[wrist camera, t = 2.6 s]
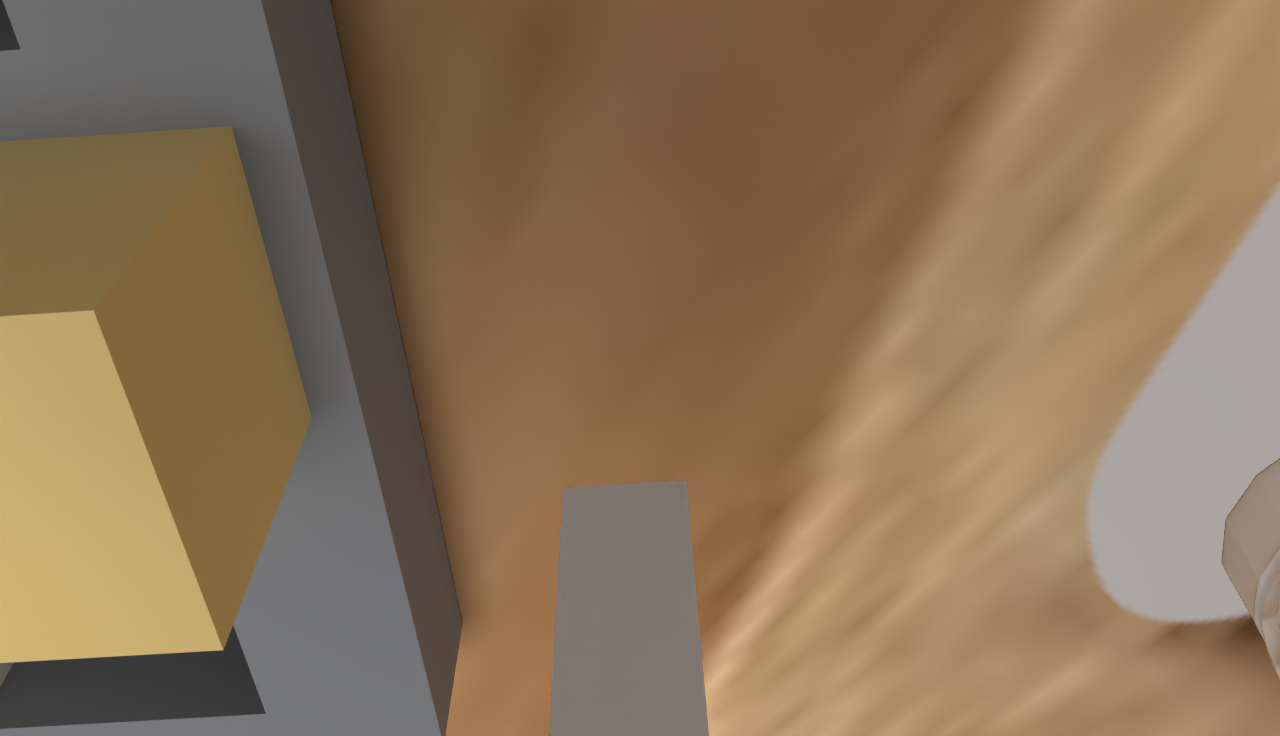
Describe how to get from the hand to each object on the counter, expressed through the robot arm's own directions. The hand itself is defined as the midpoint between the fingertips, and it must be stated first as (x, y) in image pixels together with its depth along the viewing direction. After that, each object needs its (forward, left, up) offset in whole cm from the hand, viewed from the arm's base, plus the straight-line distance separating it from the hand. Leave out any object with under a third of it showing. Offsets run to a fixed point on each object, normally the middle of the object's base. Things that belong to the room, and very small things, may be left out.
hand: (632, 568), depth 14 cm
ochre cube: (+9, 0, -8) cm, 12 cm away
